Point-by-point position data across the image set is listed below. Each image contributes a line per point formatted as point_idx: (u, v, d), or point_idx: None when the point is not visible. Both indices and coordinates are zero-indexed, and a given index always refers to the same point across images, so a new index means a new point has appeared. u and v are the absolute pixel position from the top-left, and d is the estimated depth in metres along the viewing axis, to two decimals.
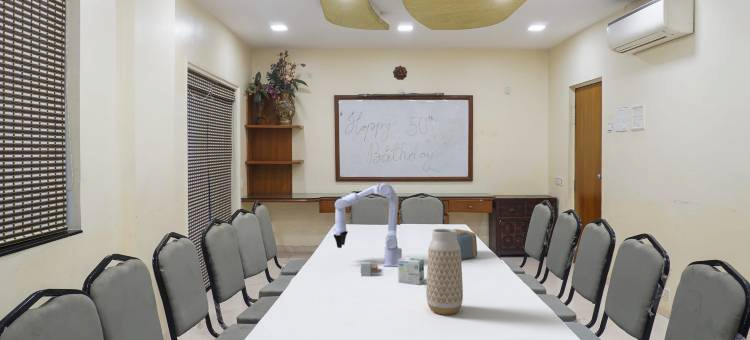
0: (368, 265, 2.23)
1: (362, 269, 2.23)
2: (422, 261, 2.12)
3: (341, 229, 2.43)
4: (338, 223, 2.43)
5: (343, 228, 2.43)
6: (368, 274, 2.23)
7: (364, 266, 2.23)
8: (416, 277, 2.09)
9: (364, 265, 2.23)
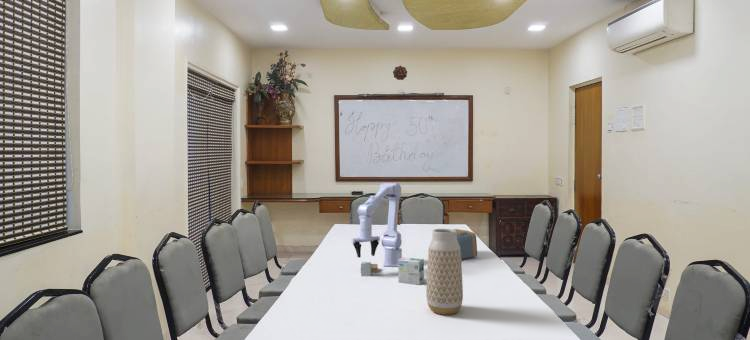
0: (368, 265, 2.23)
1: (362, 269, 2.23)
2: (422, 261, 2.12)
3: (361, 237, 2.23)
4: (360, 230, 2.24)
5: (363, 237, 2.22)
6: (368, 274, 2.23)
7: (364, 266, 2.23)
8: (416, 277, 2.09)
9: (364, 265, 2.23)
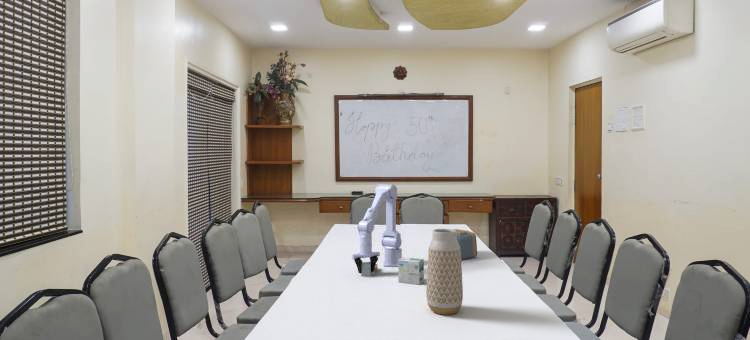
0: (368, 265, 2.23)
1: (362, 269, 2.23)
2: (422, 261, 2.12)
3: (361, 253, 2.23)
4: (360, 246, 2.24)
5: (363, 253, 2.23)
6: (368, 274, 2.23)
7: (364, 266, 2.23)
8: (416, 277, 2.09)
9: (364, 265, 2.23)
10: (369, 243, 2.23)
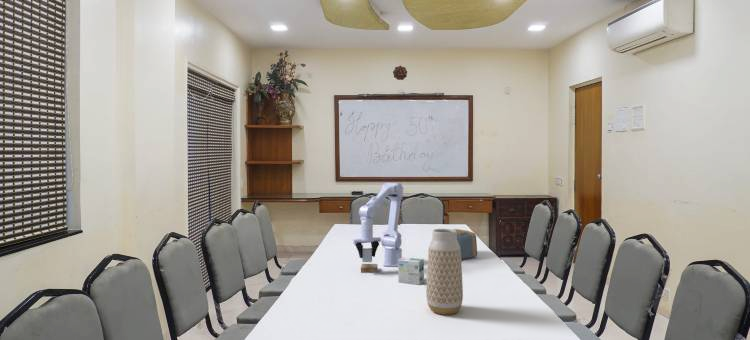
0: (369, 251, 2.25)
1: (363, 255, 2.26)
2: (422, 261, 2.12)
3: (362, 238, 2.26)
4: (361, 231, 2.27)
5: (364, 238, 2.25)
6: (369, 260, 2.26)
7: (365, 252, 2.25)
8: (416, 277, 2.09)
9: (365, 251, 2.25)
10: (370, 228, 2.25)
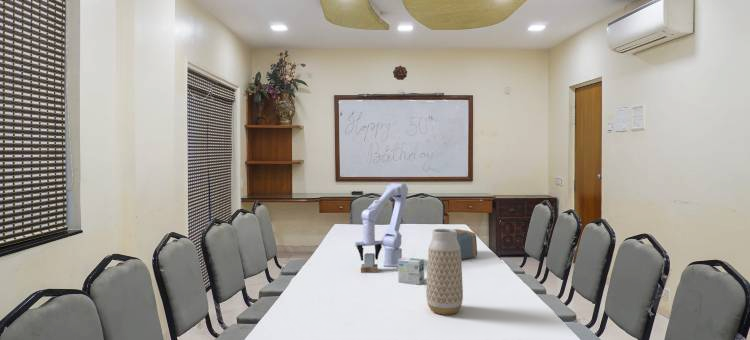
0: (371, 256, 2.31)
1: (365, 260, 2.31)
2: (422, 261, 2.12)
3: (364, 241, 2.31)
4: None
5: (366, 241, 2.31)
6: (371, 265, 2.31)
7: (367, 257, 2.31)
8: (416, 277, 2.09)
9: (367, 256, 2.31)
10: (371, 231, 2.30)
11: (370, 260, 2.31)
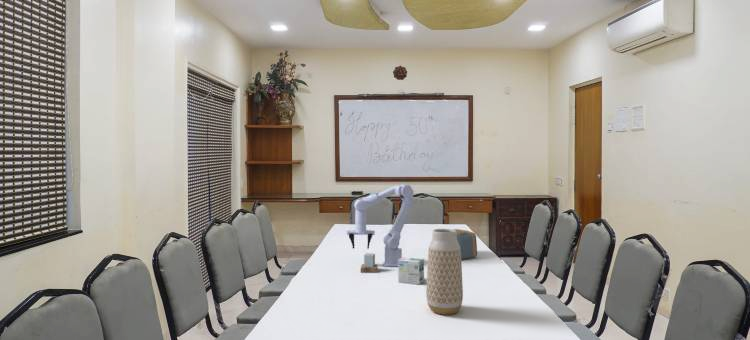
0: (371, 256, 2.31)
1: (365, 260, 2.31)
2: (422, 261, 2.12)
3: (355, 230, 2.40)
4: None
5: (356, 229, 2.39)
6: (371, 265, 2.31)
7: (367, 257, 2.31)
8: (416, 277, 2.09)
9: (367, 256, 2.31)
10: (360, 221, 2.38)
11: (370, 260, 2.31)
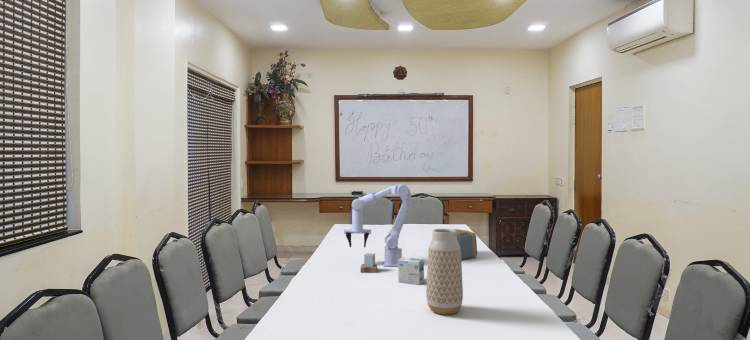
0: (371, 256, 2.31)
1: (365, 260, 2.32)
2: (422, 261, 2.12)
3: (352, 229, 2.43)
4: None
5: (353, 228, 2.42)
6: (371, 265, 2.31)
7: (367, 257, 2.31)
8: (416, 277, 2.09)
9: (367, 256, 2.31)
10: (355, 220, 2.41)
11: (370, 260, 2.31)
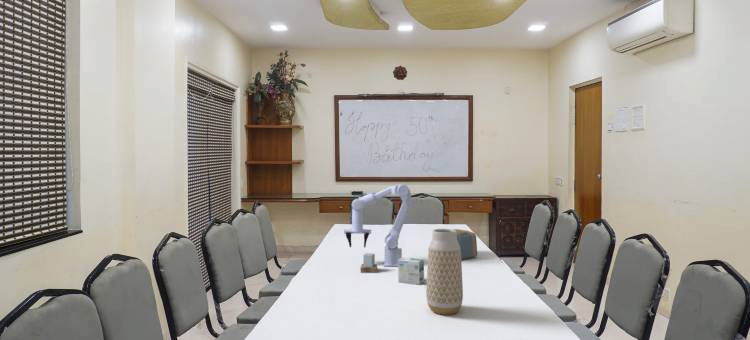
0: (370, 256, 2.31)
1: (364, 260, 2.31)
2: (422, 261, 2.12)
3: (352, 229, 2.43)
4: None
5: (353, 228, 2.42)
6: (370, 265, 2.31)
7: (366, 257, 2.31)
8: (416, 277, 2.09)
9: (366, 256, 2.31)
10: (355, 220, 2.41)
11: (369, 260, 2.31)
